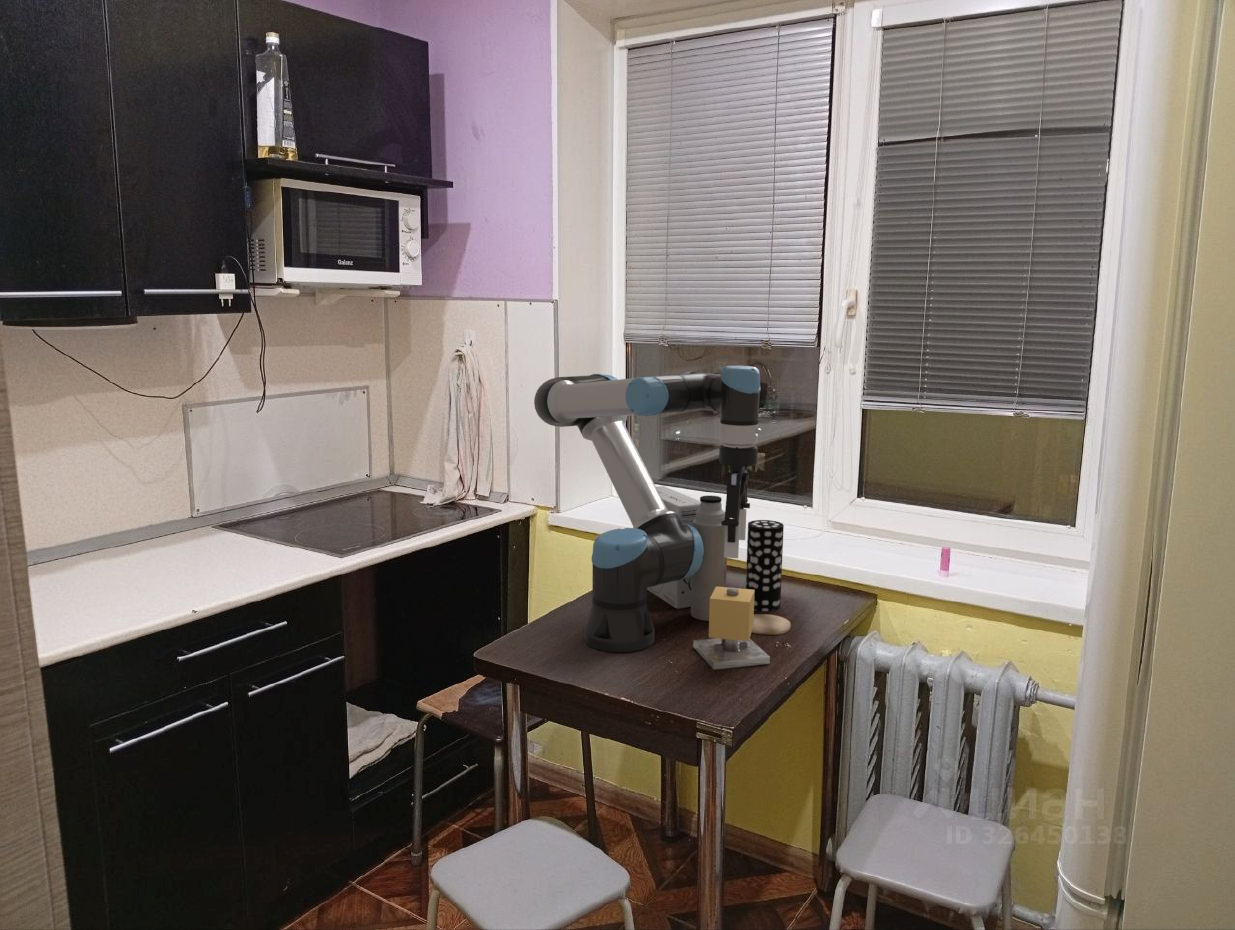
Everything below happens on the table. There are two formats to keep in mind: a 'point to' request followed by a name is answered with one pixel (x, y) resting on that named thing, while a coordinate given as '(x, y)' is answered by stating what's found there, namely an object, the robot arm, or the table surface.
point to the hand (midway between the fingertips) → (735, 548)
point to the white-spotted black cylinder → (765, 563)
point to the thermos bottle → (709, 555)
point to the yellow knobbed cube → (731, 613)
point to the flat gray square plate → (730, 653)
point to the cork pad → (770, 624)
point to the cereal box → (686, 511)
